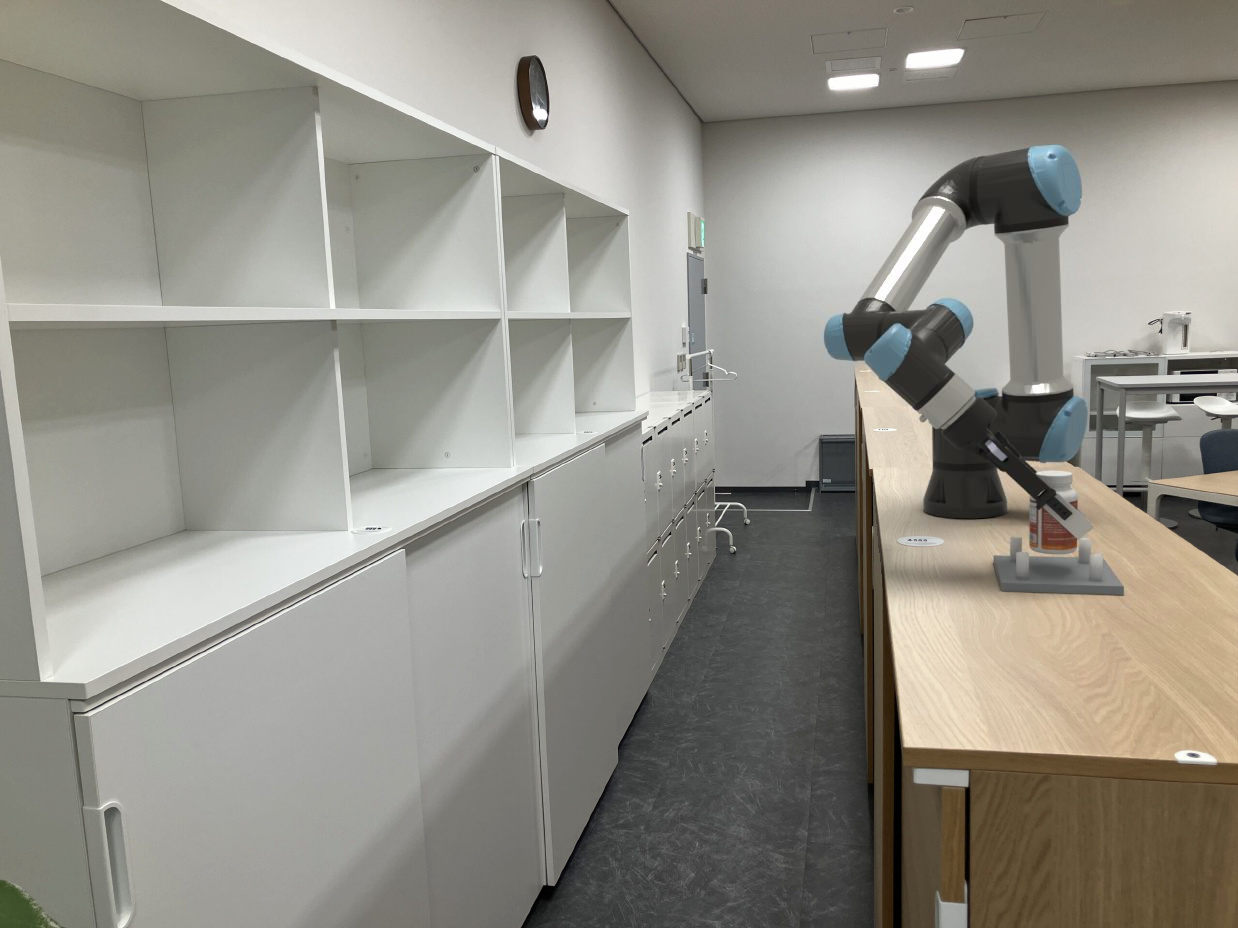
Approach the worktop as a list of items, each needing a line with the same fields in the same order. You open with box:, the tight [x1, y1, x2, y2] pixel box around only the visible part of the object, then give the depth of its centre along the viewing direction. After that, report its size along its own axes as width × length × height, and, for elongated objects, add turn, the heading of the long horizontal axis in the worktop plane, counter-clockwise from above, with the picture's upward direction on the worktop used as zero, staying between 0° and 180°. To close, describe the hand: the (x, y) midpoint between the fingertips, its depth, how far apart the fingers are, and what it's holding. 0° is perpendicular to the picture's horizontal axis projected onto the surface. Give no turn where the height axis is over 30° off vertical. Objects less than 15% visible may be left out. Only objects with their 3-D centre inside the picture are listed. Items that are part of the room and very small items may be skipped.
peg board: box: [993, 536, 1125, 596], centre depth 132 cm, size 15×15×5 cm
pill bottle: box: [1028, 470, 1079, 555], centre depth 131 cm, size 6×6×11 cm
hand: (1081, 527), depth 130 cm, fingers closed on pill bottle, 6 cm apart
